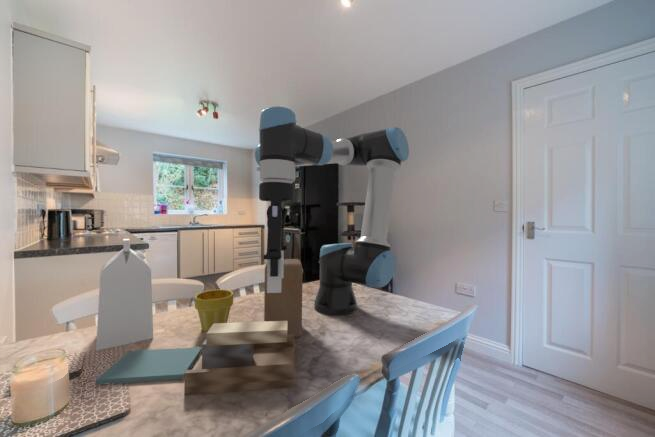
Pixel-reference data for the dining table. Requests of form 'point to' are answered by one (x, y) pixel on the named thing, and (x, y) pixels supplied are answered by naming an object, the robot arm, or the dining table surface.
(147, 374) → the slate mat
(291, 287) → the block
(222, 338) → the birch bar
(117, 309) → the milk
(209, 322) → the plant pot
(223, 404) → the dining table surface
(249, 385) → the open wooden box
